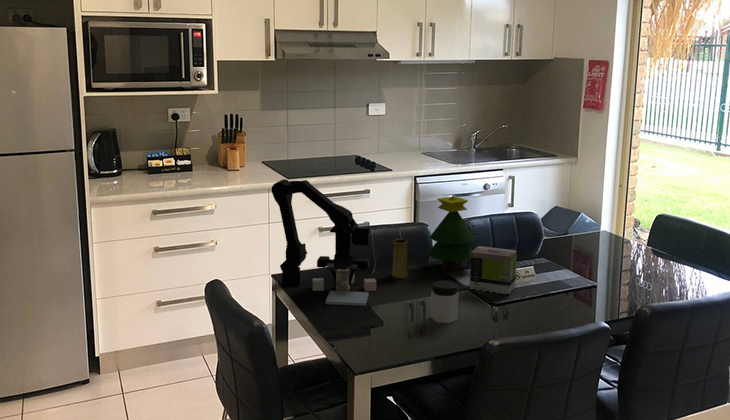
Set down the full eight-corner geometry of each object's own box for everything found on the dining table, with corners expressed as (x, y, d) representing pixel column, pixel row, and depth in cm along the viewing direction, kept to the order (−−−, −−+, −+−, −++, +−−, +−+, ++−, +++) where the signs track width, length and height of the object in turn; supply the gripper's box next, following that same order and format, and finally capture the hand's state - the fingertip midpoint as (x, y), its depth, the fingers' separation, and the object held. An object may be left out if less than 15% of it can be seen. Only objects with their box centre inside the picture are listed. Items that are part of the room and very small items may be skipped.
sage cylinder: (342, 283, 278) (342, 274, 278) (343, 279, 283) (343, 271, 282) (353, 284, 278) (353, 275, 277) (354, 280, 282) (354, 271, 281)
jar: (441, 311, 251) (442, 278, 248) (461, 317, 246) (462, 283, 243) (425, 319, 244) (426, 285, 241) (446, 325, 239) (447, 290, 236)
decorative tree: (446, 279, 284) (448, 203, 277) (417, 265, 300) (419, 193, 293) (485, 271, 294) (488, 198, 287) (455, 259, 310) (458, 189, 303)
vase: (406, 279, 284) (407, 243, 280) (390, 278, 285) (391, 242, 282) (408, 274, 290) (409, 239, 286) (393, 273, 291) (393, 238, 287)
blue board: (325, 304, 257) (325, 301, 257) (330, 293, 268) (330, 290, 268) (365, 305, 256) (365, 303, 256) (368, 294, 266) (368, 292, 266)
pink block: (365, 291, 270) (365, 282, 270) (363, 287, 274) (363, 278, 273) (376, 291, 271) (376, 282, 270) (374, 287, 275) (374, 278, 274)
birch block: (336, 290, 271) (336, 272, 269) (337, 286, 275) (337, 268, 273) (348, 291, 270) (348, 272, 269) (349, 286, 275) (349, 269, 273)
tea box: (515, 287, 276) (517, 249, 272) (508, 296, 267) (511, 256, 263) (476, 281, 282) (478, 244, 278) (468, 289, 273) (470, 251, 269)
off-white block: (312, 291, 270) (312, 282, 270) (312, 287, 274) (312, 278, 274) (323, 290, 271) (323, 281, 270) (323, 287, 275) (323, 278, 274)
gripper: (314, 249, 262) (314, 291, 265) (366, 251, 260) (366, 293, 264) (319, 240, 273) (319, 281, 276) (369, 242, 271) (369, 283, 274)
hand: (343, 284), depth 272 cm, fingers closed on birch block, 4 cm apart
